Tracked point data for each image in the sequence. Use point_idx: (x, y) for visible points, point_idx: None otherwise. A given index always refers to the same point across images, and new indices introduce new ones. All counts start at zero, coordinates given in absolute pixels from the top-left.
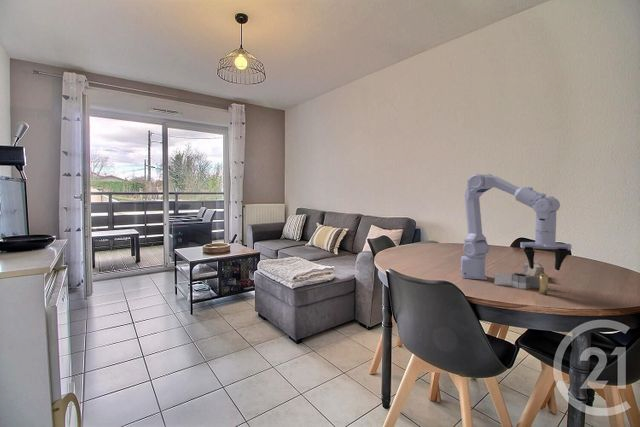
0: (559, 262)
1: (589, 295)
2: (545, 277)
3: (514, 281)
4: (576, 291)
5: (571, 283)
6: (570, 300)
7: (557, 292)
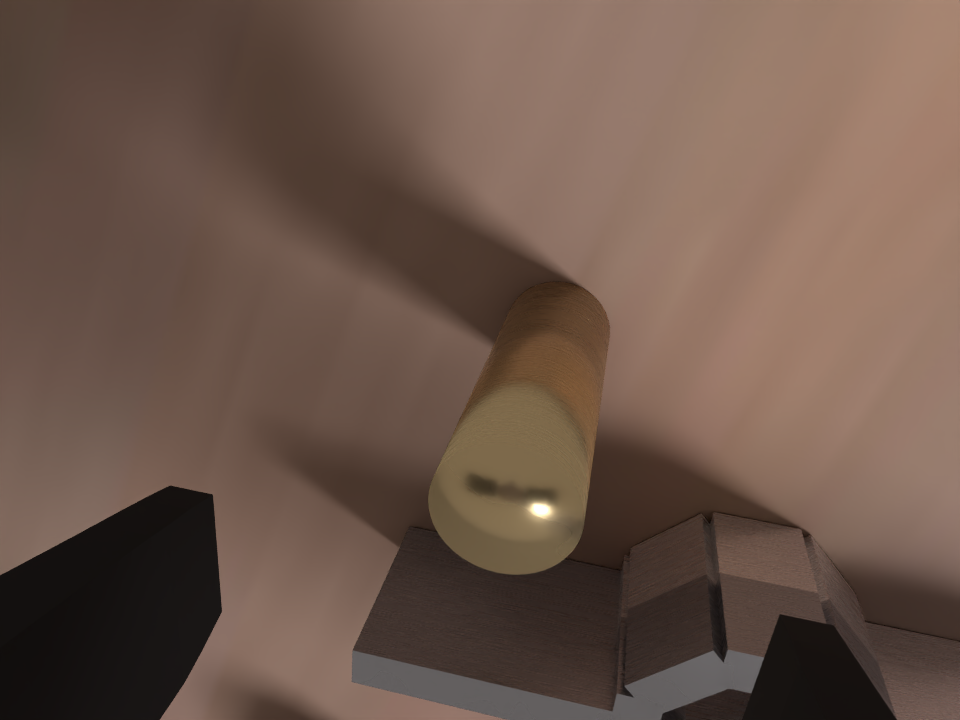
0: (6, 621)
1: (24, 341)
2: (511, 419)
3: (862, 644)
4: (119, 467)
5: None
6: (294, 84)
7: (340, 411)
